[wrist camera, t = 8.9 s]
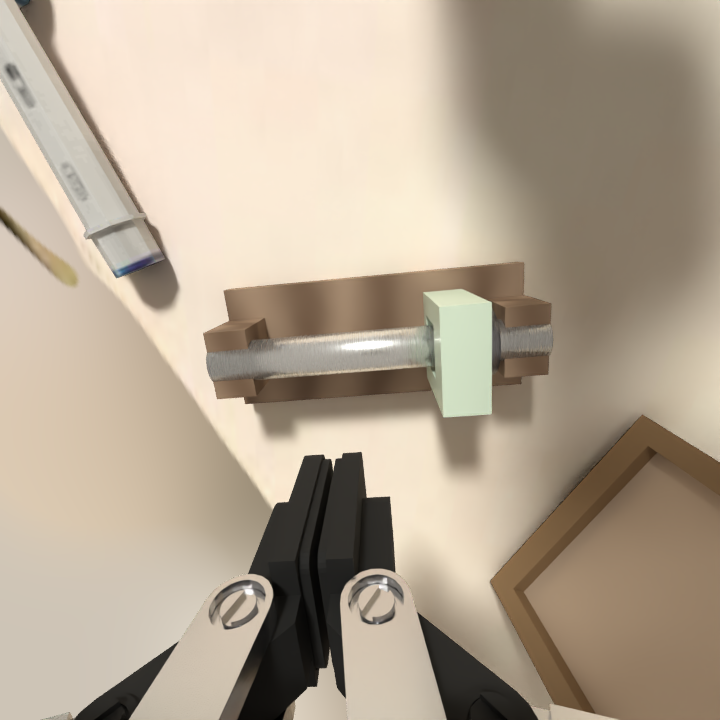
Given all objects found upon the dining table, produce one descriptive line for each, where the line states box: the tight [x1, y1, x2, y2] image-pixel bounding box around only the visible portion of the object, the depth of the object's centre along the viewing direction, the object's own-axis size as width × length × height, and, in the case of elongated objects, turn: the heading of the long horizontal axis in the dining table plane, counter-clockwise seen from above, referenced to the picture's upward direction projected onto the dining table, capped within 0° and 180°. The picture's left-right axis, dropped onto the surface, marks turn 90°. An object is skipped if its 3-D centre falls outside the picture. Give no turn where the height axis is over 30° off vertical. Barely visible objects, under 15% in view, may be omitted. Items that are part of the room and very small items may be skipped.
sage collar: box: [423, 289, 492, 418], centre depth 27 cm, size 3×7×8 cm, turn 5°
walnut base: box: [203, 262, 551, 404], centre depth 30 cm, size 24×10×6 cm, turn 95°
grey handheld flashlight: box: [0, 0, 165, 278], centre depth 27 cm, size 5×7×25 cm
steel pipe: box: [206, 309, 553, 382], centre depth 28 cm, size 24×5×5 cm, turn 95°
